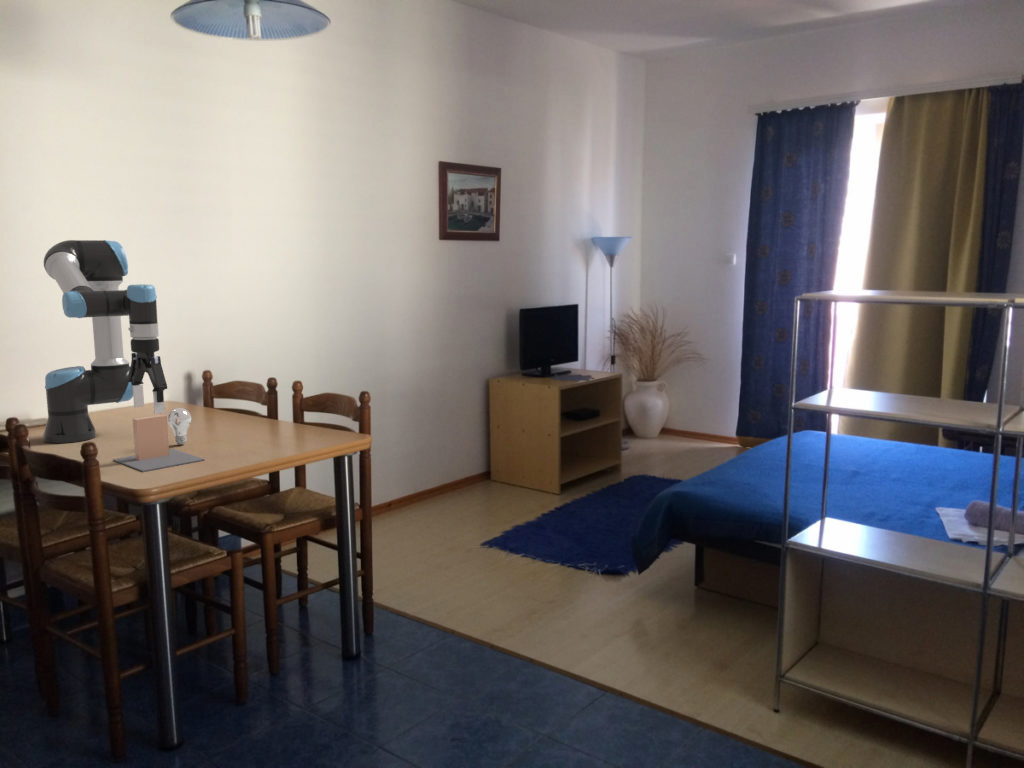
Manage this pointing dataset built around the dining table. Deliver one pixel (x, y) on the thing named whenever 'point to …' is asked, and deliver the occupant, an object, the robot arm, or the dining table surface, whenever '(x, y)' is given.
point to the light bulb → (179, 424)
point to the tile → (151, 437)
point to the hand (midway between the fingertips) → (149, 410)
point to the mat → (159, 461)
